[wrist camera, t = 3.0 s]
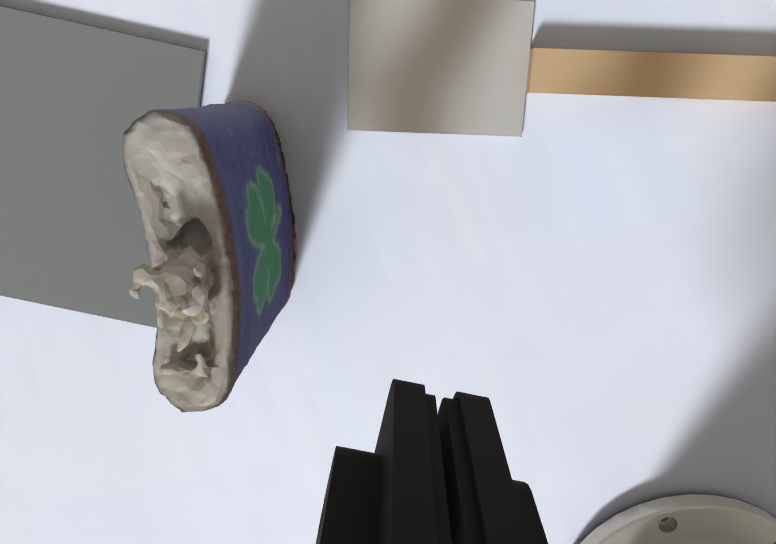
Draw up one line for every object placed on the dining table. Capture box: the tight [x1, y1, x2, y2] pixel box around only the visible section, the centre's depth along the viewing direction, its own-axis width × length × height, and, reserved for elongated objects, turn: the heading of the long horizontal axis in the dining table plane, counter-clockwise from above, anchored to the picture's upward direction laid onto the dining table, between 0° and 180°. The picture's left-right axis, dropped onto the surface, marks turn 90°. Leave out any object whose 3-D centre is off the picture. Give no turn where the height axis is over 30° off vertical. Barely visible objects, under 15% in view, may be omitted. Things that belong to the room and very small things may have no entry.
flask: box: [122, 101, 296, 412], centre depth 20 cm, size 9×3×11 cm, turn 2°
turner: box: [347, 0, 776, 137], centre depth 23 cm, size 17×5×1 cm, turn 88°
